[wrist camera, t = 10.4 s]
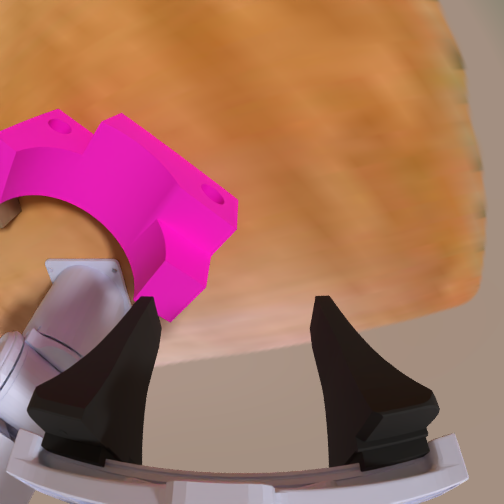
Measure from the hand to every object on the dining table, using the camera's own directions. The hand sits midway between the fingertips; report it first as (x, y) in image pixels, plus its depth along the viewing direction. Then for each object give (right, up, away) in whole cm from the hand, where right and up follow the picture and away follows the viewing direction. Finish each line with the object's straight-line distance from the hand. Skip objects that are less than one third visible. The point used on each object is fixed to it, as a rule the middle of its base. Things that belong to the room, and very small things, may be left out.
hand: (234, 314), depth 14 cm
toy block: (-8, +9, +7) cm, 14 cm away
